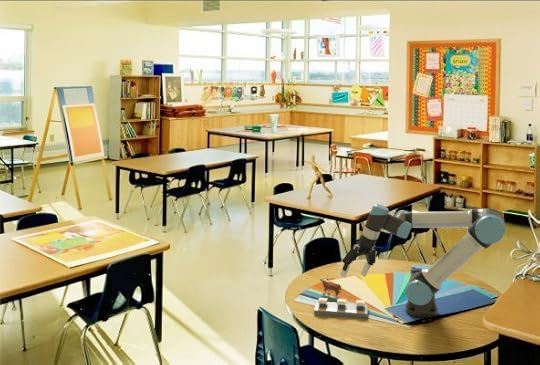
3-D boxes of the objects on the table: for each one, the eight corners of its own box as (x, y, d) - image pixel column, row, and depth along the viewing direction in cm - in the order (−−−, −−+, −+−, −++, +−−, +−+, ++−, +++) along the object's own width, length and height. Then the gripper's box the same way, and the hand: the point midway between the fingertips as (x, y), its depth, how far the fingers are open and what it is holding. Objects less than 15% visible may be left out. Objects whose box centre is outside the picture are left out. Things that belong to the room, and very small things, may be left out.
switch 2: (364, 302, 286) (364, 300, 286) (364, 306, 279) (364, 303, 279) (356, 302, 286) (356, 299, 286) (355, 305, 279) (356, 302, 279)
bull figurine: (323, 290, 311) (323, 275, 309) (342, 297, 301) (342, 282, 300) (317, 292, 308) (317, 277, 306) (337, 299, 298) (337, 284, 297)
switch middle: (346, 301, 287) (346, 299, 287) (345, 304, 280) (345, 302, 280) (337, 301, 288) (337, 298, 288) (336, 304, 281) (336, 301, 281)
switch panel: (367, 308, 287) (367, 301, 287) (367, 318, 276) (367, 311, 276) (316, 304, 292) (316, 298, 291) (314, 314, 281) (314, 307, 280)
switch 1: (327, 300, 289) (327, 297, 289) (326, 303, 282) (326, 300, 282) (319, 300, 289) (319, 297, 289) (318, 303, 283) (318, 300, 283)
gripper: (381, 232, 282) (365, 270, 288) (345, 232, 266) (329, 272, 273) (392, 240, 276) (376, 279, 283) (355, 240, 261) (339, 281, 267)
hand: (353, 275), depth 278 cm, fingers open, 13 cm apart
